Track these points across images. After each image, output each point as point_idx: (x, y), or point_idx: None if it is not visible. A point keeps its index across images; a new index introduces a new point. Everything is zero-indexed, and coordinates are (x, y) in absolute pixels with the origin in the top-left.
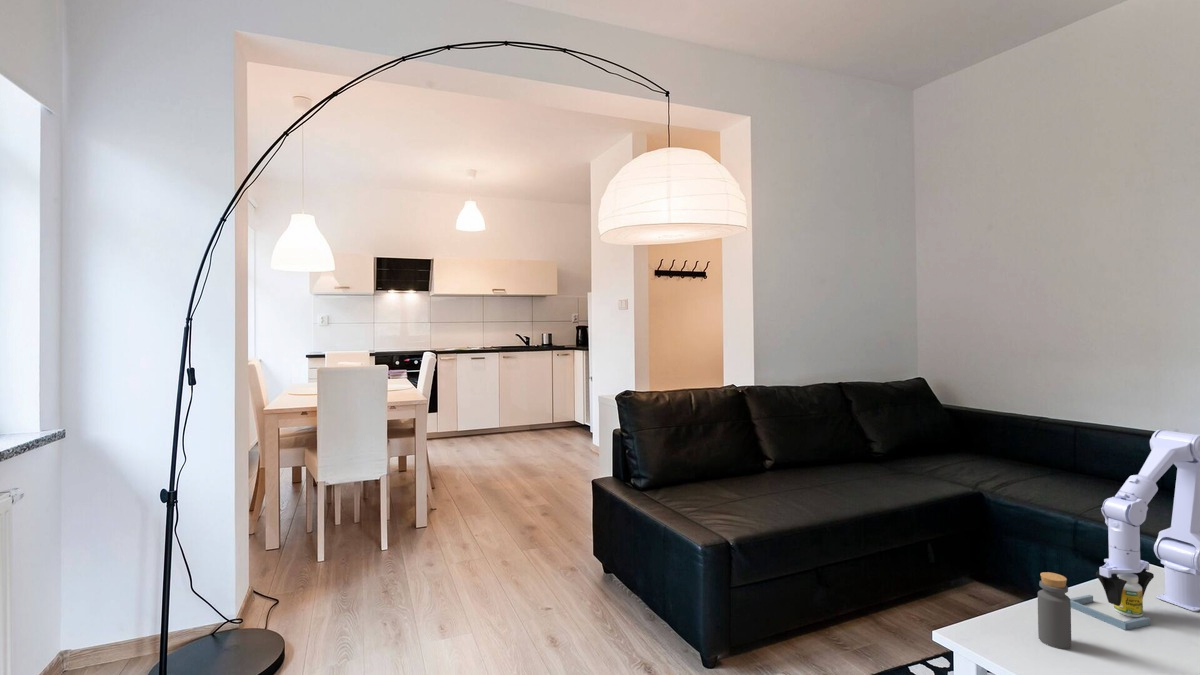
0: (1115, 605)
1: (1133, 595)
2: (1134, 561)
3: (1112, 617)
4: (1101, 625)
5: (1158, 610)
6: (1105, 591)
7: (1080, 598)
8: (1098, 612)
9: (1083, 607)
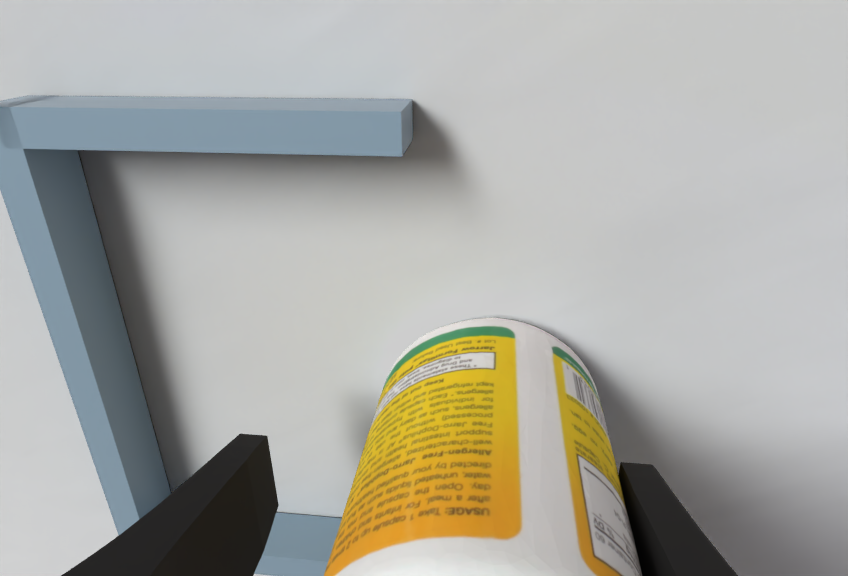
0: (383, 392)
1: None
2: None
3: (123, 487)
4: (46, 432)
5: (817, 471)
6: (144, 520)
7: (172, 148)
8: (82, 404)
9: (42, 285)
